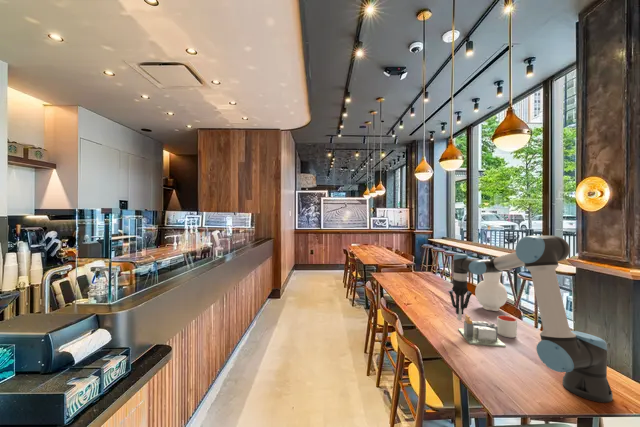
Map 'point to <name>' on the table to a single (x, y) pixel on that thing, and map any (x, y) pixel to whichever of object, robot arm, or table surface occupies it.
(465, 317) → the clip
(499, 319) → the cup
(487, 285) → the vase
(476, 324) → the strap
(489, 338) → the grey table caddy
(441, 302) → the table surface
